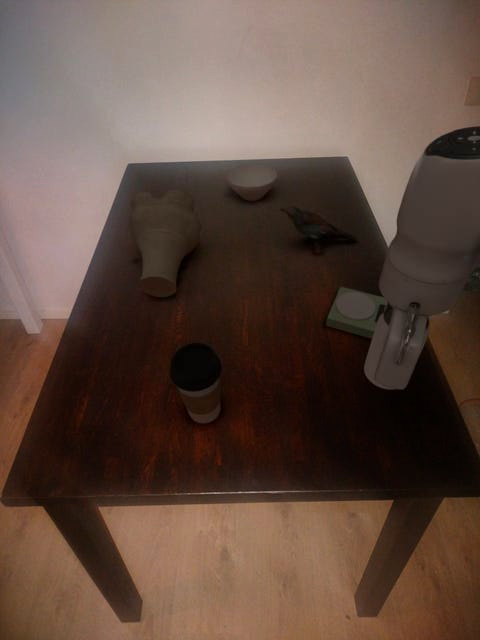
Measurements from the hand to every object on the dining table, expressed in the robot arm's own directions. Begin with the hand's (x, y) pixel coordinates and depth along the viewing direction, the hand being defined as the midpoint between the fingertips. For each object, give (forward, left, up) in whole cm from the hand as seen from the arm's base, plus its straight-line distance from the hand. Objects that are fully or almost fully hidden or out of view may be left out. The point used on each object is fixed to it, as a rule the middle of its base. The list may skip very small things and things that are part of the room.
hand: (392, 353), depth 54 cm
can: (0, 0, -5) cm, 5 cm away
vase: (+57, -21, -19) cm, 63 cm away
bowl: (+52, -66, -19) cm, 86 cm away
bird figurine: (+24, -48, -19) cm, 57 cm away
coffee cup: (+28, +10, -19) cm, 35 cm away
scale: (+8, -25, -19) cm, 32 cm away
